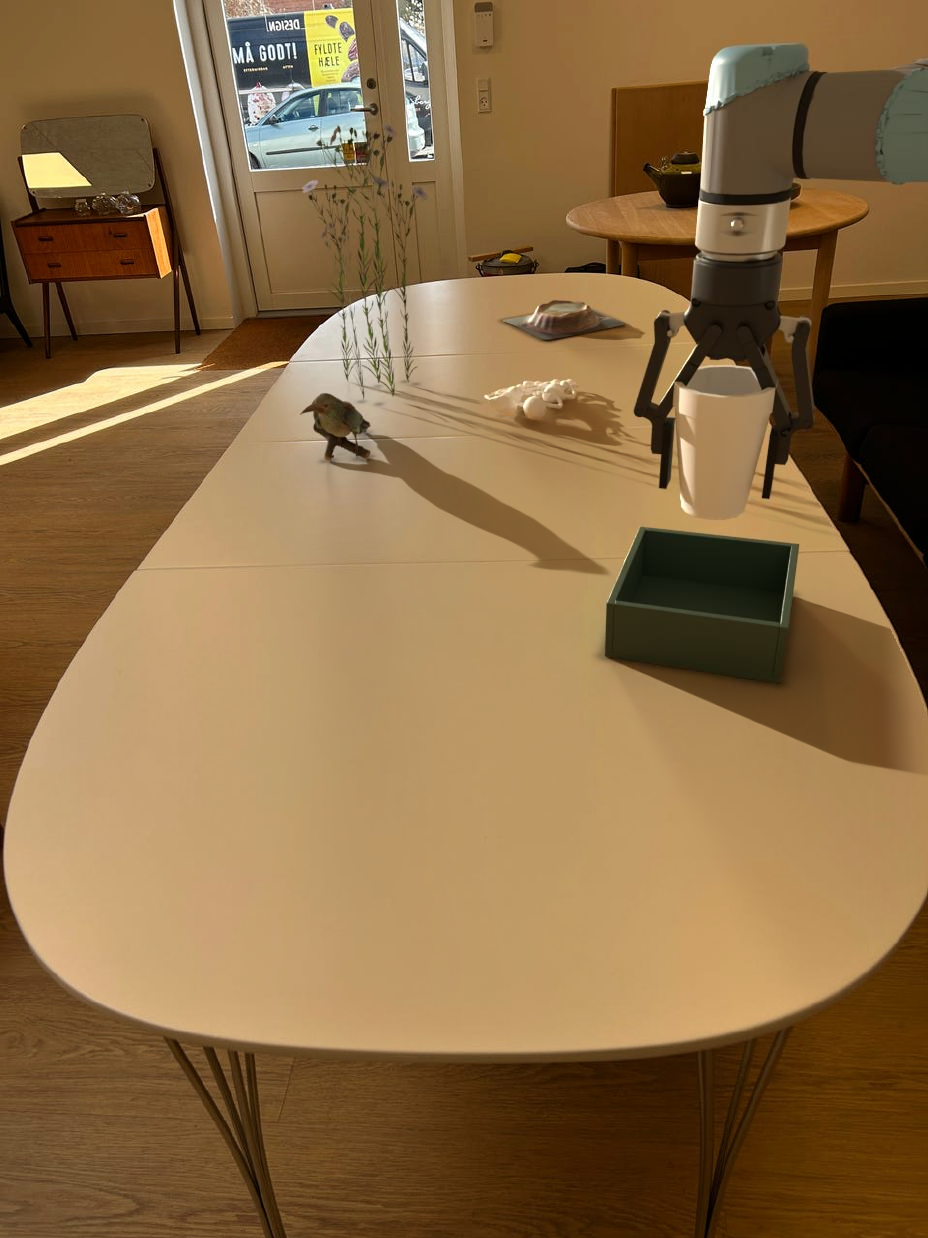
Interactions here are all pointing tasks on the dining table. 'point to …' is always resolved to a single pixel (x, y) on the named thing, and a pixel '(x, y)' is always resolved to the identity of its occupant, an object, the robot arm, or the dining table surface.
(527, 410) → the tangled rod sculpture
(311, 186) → the wildflower
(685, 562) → the dish tub
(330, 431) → the bird figurine
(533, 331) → the quiche
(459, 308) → the dining table surface
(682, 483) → the foam cup
